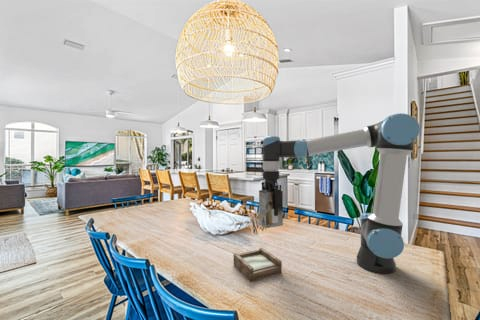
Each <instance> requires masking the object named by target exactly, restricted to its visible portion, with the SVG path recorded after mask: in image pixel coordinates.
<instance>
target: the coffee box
mask: <svg viewBox="0 0 480 320" xmlns="http://www.w3.org/2000/svg"><path fill="white" fill-rule="evenodd" d="M283 191H284V190H281V205H282V207H281V208H278V223H272V207H273V204H272V194H275V192H270V191H269V190H262V189H260V190H258V224H259V226H260V227H263V228H264V229H269V228H275V227H276V228H277V227H282V226H283V225H284V224H283V223H284V219H283V218H284V217H283V216H284V214H283V213H284V211H283V205H284V204H283V196H284V194H283Z"/></svg>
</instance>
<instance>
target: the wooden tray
mask: <svg viewBox="0 0 480 320" xmlns="http://www.w3.org/2000/svg"><path fill="white" fill-rule="evenodd" d="M282 265H283V264H282V260H281V259H279V258H278V257H276V256H275V255H274V254H272V253H270V252H269V251H267V250H266V249H264V248H263V247H260V248H259V249H256V250H255V249H254V250H251V251H246V252H241V253H237V252H236V253H233V266H234V267H235V268H236V269H237V270H238V271H239V272H240V273H241V274H242V275H243V276H244V278H246V280H247V281H249V282H250V283H252V282H255V281H258V280H262V279H267V278H269V277H270V278H271V277H273V276H277V275H280V274H283V273H282V272H283V271H282V270H283V269H282V268H283V267H282Z"/></svg>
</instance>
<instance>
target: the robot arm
mask: <svg viewBox="0 0 480 320" xmlns="http://www.w3.org/2000/svg"><path fill="white" fill-rule="evenodd" d="M420 129H421V127H420V124H419V121H418V120H417V119H416V118H415V117H413V116H412V115H410V114H407V113H395V114H391V115H389V116H387V117H385V118H384V119H383V120H382V121H379V122H378V123H375V124H371V125H367V126H365V127H364V128H363V129H359V130H358V129H357V130H352V131H347V132H344V133H343V132H342V133H338V134H333V135H327V136H322V137H317V138H312V139H307V140H280V139H281V138H280V137H279V136H274V135H273V136H265V137H264V138H263V143H262V170H263V171H262V179H263V180H264V181H262V182H261V190H269V191H270V192H275V194H272V204H273V207H272V223H278V208H281V207H282V205H281V191H282V185H281V184H278V180H280V171H279V170H280V160H281V159H283V158H285V159H286V158H291V159H301V158H303V159H305V158H306V157H309V156H314V155H321V154H326V153H332V152H339V151H343V150H349V149H350V150H351V149H355V148H361V147H368V148H376V150H377V152H378V153H379V163H378V169H377V176H376V177H377V178H376V184H375V185H376V186H375V193H374V201H373V207H372V212H365V213H361V214H360V219H359V220H360V248H359V250H358V253H357V255H356V264H357V265H358V266H359V267H361V268H362V269H364V270H366V271H369V272H371V273H372V272H374V273H376V274H377V273H378V274H393V273H394V272H396V270H397V263H396V261H395V258H397V257H398V256H400V255H401V254H402V253H403V251H404V249H405V242H404V238H403V237H402V235H403V234H402V232H403V226H404V225H403V222H402V220H400V218H399V217H400V211H401V210H400V209H401V203H402V202H401V201H402V196H403V188H404V181H405V172H406V167H407V166H406V164H407V158H408V155H410V154H411V153H413V152H414V144H415V141H416V139H417V138H418V136H419V134H420V132H421V130H420ZM280 158H281V159H280Z"/></svg>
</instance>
